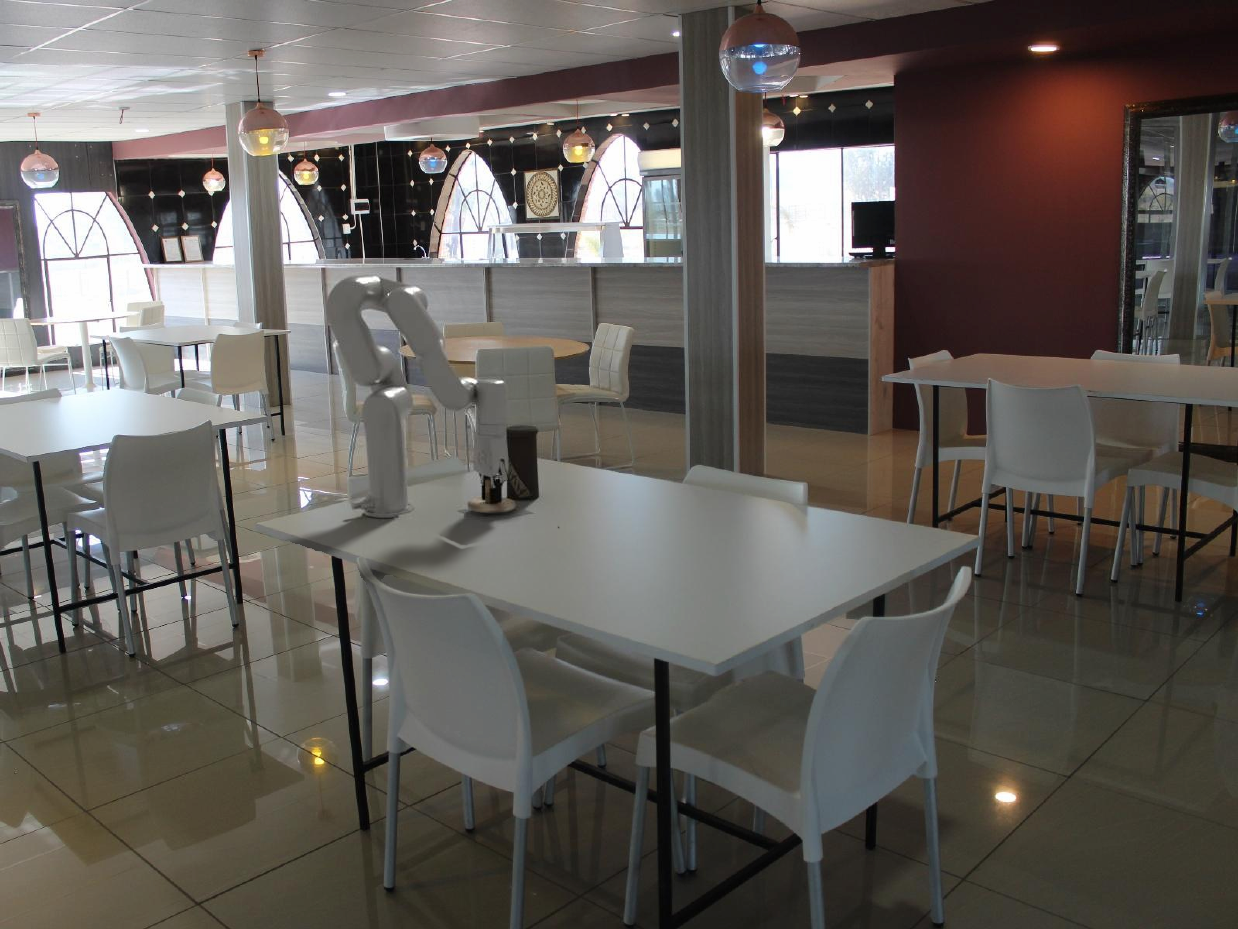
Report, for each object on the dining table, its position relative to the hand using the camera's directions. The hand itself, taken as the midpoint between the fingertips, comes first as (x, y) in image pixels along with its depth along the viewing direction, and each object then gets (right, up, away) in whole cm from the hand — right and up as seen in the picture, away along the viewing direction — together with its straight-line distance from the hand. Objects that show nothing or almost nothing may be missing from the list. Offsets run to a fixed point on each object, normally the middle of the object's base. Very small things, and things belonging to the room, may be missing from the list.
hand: (491, 500), depth 278 cm
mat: (+1, -4, +1) cm, 4 cm away
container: (+7, -1, +16) cm, 17 cm away
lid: (0, -2, 0) cm, 2 cm away
